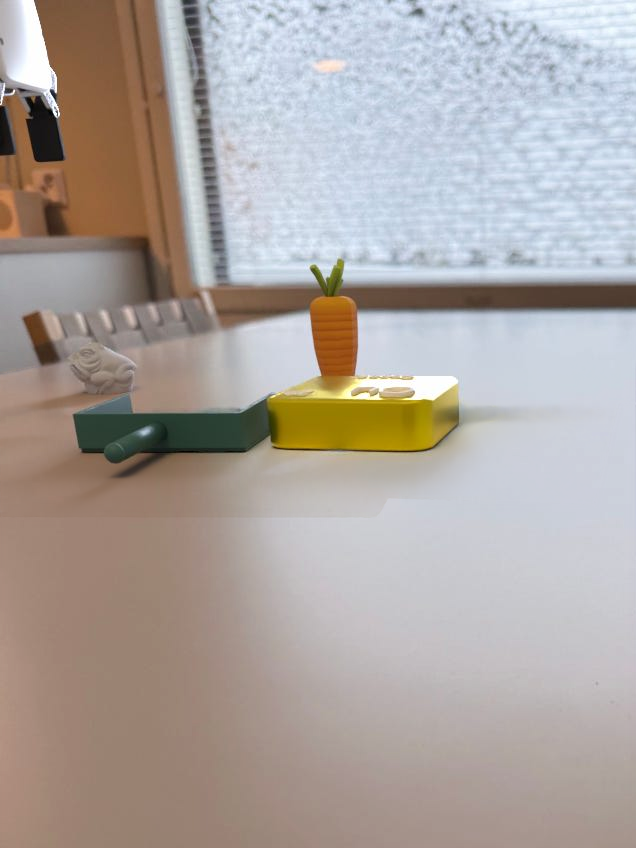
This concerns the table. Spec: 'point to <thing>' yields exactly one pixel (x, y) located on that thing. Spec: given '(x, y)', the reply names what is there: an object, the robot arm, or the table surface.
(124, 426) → the scoop
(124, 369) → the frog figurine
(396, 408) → the element tile
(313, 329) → the carrot
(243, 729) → the table surface
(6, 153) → the robot arm
